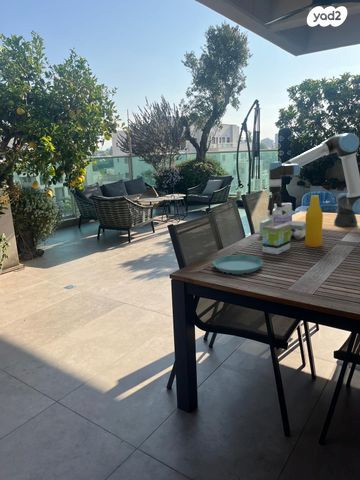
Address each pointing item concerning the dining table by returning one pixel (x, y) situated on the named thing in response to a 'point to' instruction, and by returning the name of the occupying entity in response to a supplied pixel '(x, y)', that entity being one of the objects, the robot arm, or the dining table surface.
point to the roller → (276, 212)
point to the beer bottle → (314, 223)
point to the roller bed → (298, 233)
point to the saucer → (238, 264)
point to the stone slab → (297, 224)
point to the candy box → (284, 213)
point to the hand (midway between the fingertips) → (274, 218)
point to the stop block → (264, 223)
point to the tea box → (276, 238)
